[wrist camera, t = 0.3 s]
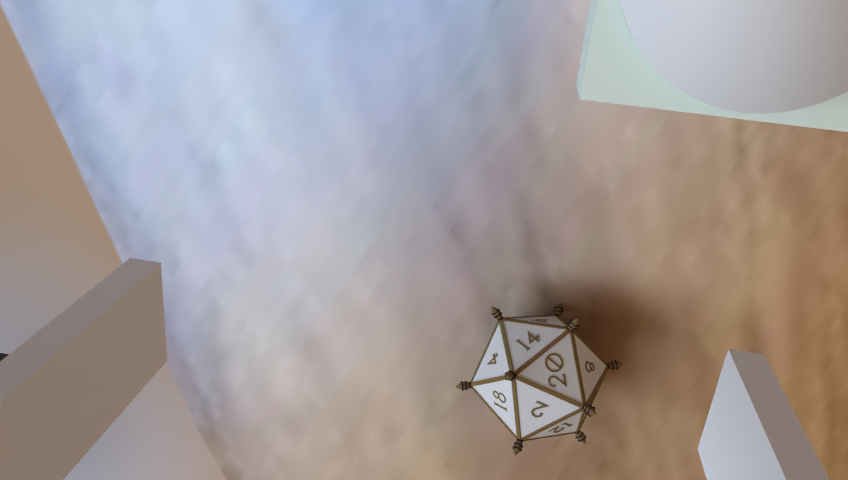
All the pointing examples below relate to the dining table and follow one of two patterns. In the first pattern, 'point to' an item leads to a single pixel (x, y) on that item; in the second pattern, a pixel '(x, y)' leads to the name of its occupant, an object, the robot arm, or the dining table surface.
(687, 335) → the dining table surface
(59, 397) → the robot arm
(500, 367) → the game die
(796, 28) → the scale
